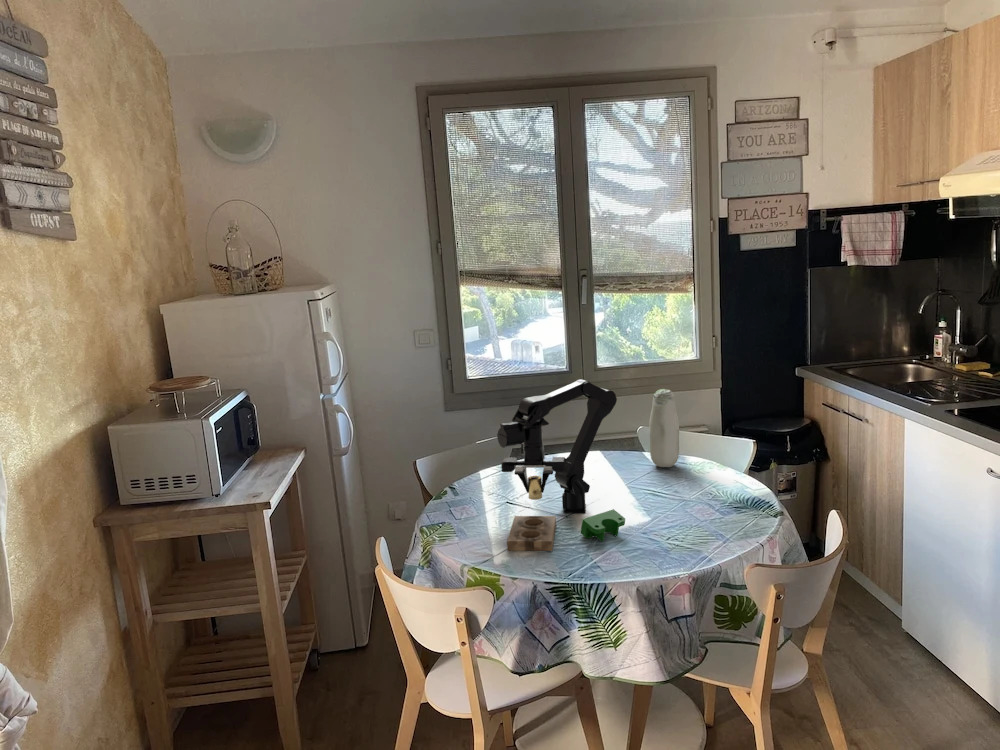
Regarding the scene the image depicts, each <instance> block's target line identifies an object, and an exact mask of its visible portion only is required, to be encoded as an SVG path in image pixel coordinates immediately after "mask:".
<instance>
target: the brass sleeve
mask: <svg viewBox="0 0 1000 750" xmlns="http://www.w3.org/2000/svg"><path fill="white" fill-rule="evenodd" d="M527 479H528V491H529V493H528V499H530V500H535V501H537V500H541V499H543V493H542V476H540V475H532V476H531V475H529V476H527Z"/></svg>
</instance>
